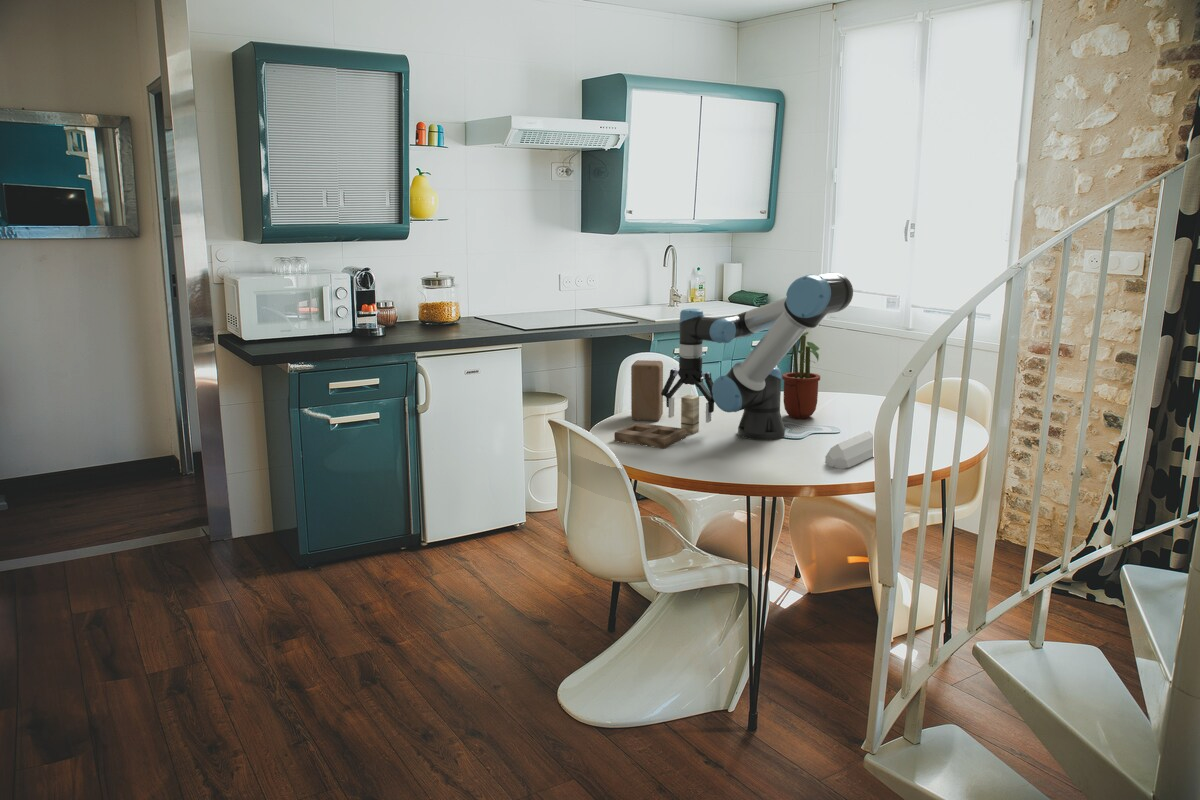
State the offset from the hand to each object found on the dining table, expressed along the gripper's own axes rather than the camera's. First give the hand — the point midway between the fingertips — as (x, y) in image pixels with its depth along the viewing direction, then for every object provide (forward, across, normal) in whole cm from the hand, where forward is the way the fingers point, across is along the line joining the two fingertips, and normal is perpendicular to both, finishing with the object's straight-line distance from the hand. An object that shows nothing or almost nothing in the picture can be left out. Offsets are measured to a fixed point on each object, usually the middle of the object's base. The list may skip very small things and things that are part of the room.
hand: (689, 419), depth 309 cm
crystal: (+4, -57, +7) cm, 57 cm away
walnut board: (+4, +7, +15) cm, 17 cm away
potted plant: (+4, -23, -40) cm, 46 cm away
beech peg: (+4, 0, 0) cm, 4 cm away
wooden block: (+5, +22, -11) cm, 25 cm away
